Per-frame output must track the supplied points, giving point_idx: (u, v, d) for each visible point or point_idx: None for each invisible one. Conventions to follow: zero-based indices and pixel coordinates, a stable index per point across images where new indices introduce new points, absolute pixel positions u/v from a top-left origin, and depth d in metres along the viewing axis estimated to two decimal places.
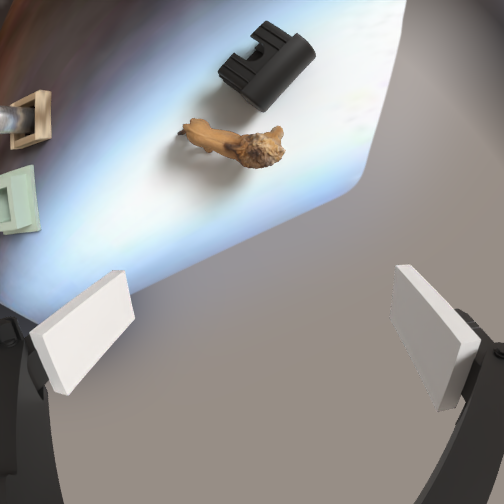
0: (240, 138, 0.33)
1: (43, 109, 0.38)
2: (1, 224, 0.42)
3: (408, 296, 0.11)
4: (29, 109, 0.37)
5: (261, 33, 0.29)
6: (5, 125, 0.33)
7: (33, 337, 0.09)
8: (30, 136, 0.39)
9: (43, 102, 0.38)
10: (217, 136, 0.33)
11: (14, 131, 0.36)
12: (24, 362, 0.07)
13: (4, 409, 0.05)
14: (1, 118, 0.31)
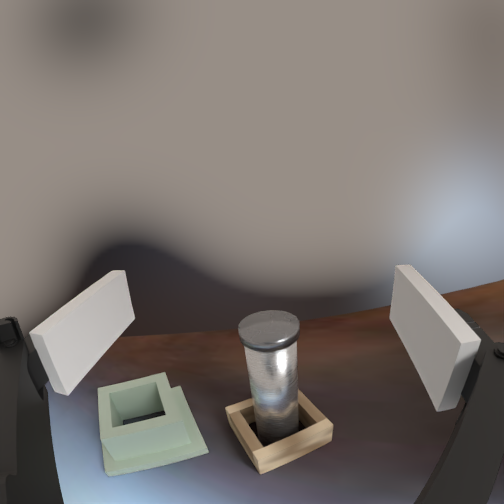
0: None
1: (304, 445, 0.26)
2: (108, 407, 0.29)
3: (408, 296, 0.11)
4: (297, 420, 0.29)
5: None
6: (268, 394, 0.26)
7: (33, 337, 0.09)
8: (255, 440, 0.27)
9: (315, 439, 0.27)
10: None
11: (258, 410, 0.27)
12: (24, 362, 0.07)
13: (5, 409, 0.05)
14: (279, 382, 0.25)
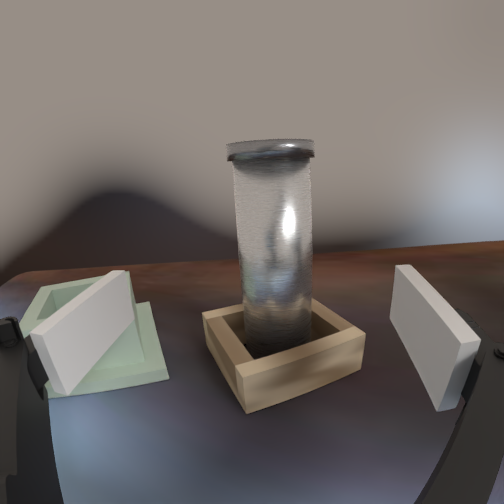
0: None
1: (321, 364, 0.18)
2: (42, 301, 0.21)
3: (408, 296, 0.11)
4: (309, 327, 0.20)
5: None
6: (266, 252, 0.17)
7: (33, 337, 0.09)
8: (241, 350, 0.18)
9: (338, 357, 0.18)
10: None
11: (249, 295, 0.19)
12: (24, 362, 0.07)
13: (4, 409, 0.05)
14: (285, 227, 0.17)
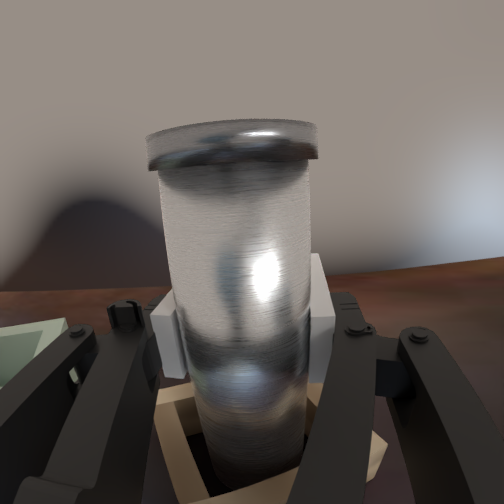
0: None
1: None
2: None
3: None
4: (301, 435, 0.11)
5: None
6: (221, 349, 0.09)
7: (154, 319, 0.10)
8: (193, 475, 0.10)
9: None
10: None
11: (201, 402, 0.10)
12: (140, 352, 0.08)
13: (102, 405, 0.06)
14: (256, 307, 0.08)
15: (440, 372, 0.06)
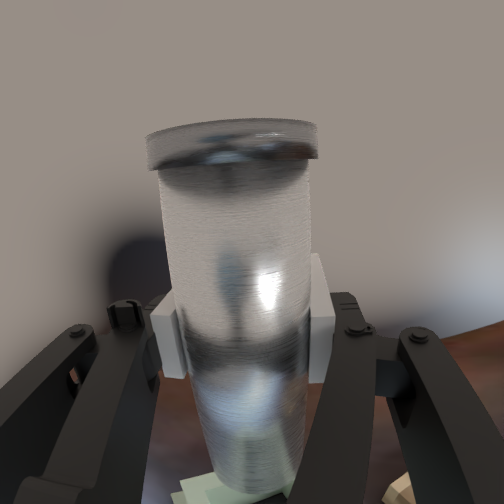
0: None
1: None
2: None
3: None
4: (301, 435, 0.11)
5: None
6: (221, 349, 0.09)
7: (154, 319, 0.10)
8: None
9: None
10: None
11: (201, 402, 0.10)
12: (139, 352, 0.08)
13: (101, 406, 0.06)
14: (256, 307, 0.08)
15: (440, 372, 0.06)
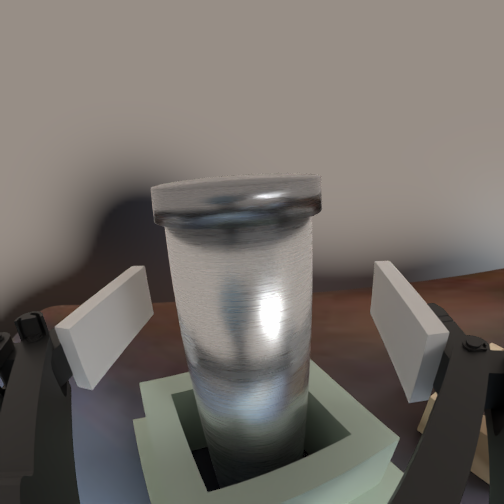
0: None
1: None
2: (177, 431, 0.11)
3: (385, 291, 0.12)
4: (301, 454, 0.12)
5: None
6: (227, 388, 0.09)
7: (59, 331, 0.09)
8: None
9: None
10: None
11: (208, 429, 0.11)
12: (48, 358, 0.08)
13: (24, 406, 0.05)
14: (260, 353, 0.09)
15: None
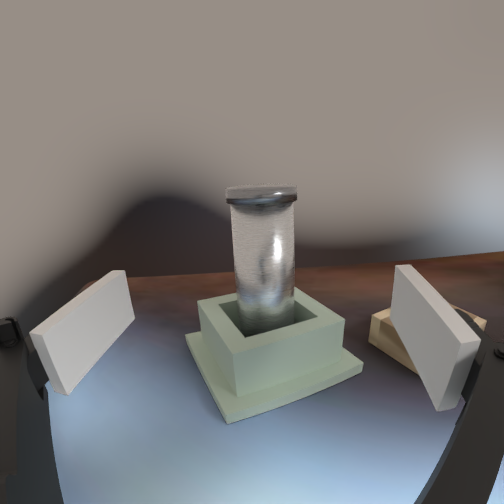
0: None
1: None
2: (225, 317, 0.24)
3: (408, 296, 0.11)
4: None
5: None
6: (256, 276, 0.22)
7: (33, 337, 0.09)
8: None
9: None
10: None
11: (243, 309, 0.24)
12: (24, 362, 0.07)
13: (5, 409, 0.05)
14: (271, 258, 0.22)
15: None
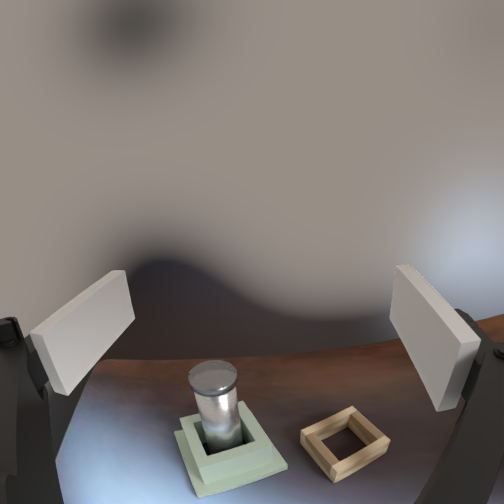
0: None
1: (368, 457, 0.30)
2: (196, 436, 0.33)
3: (408, 296, 0.11)
4: None
5: None
6: (212, 425, 0.31)
7: (33, 337, 0.09)
8: (332, 456, 0.31)
9: (376, 452, 0.31)
10: None
11: (207, 436, 0.32)
12: (24, 362, 0.07)
13: (4, 409, 0.05)
14: (220, 418, 0.30)
15: None
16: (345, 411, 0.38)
